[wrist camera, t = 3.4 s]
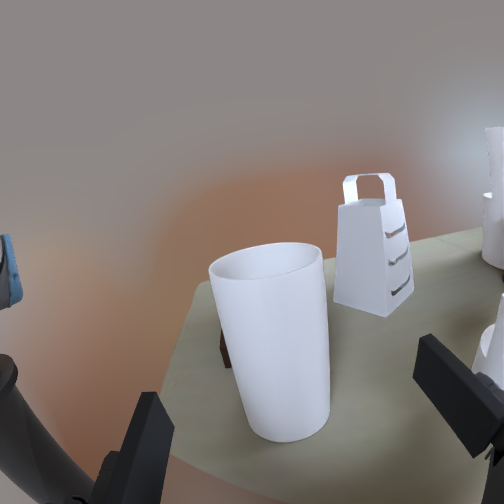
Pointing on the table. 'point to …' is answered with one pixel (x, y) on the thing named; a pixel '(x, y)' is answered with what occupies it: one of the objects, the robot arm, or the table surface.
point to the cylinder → (494, 201)
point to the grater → (372, 251)
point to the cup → (276, 336)
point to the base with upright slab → (492, 350)
